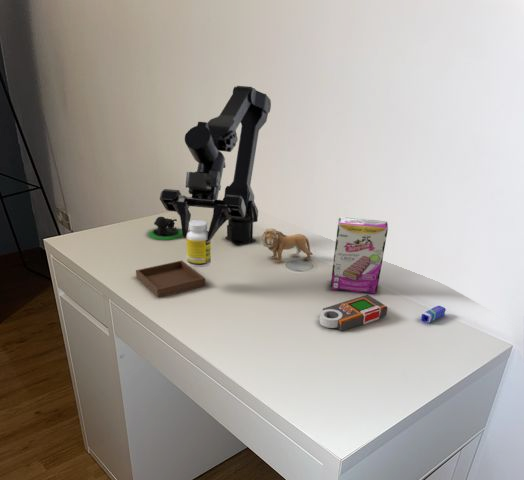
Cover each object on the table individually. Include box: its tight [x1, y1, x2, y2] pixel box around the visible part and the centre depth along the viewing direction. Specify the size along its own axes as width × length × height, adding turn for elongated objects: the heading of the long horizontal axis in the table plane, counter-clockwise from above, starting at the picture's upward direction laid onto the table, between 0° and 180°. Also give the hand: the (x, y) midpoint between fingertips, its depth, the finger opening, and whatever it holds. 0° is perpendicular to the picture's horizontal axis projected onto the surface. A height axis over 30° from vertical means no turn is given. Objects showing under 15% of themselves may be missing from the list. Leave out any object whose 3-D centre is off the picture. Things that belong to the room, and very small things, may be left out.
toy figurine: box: [148, 216, 183, 241], centre depth 155 cm, size 10×10×6 cm
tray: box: [135, 260, 206, 298], centre depth 129 cm, size 12×12×2 cm
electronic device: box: [319, 293, 388, 332], centre depth 116 cm, size 7×3×15 cm
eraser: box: [420, 305, 446, 324], centre depth 117 cm, size 2×6×2 cm, turn 128°
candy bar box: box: [330, 216, 389, 295], centre depth 125 cm, size 11×5×16 cm, turn 81°
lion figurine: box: [262, 228, 313, 263], centre depth 141 cm, size 15×5×9 cm, turn 113°
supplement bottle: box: [185, 219, 212, 269], centre depth 122 cm, size 5×5×10 cm
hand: (196, 238), depth 120 cm, fingers closed on supplement bottle, 5 cm apart
